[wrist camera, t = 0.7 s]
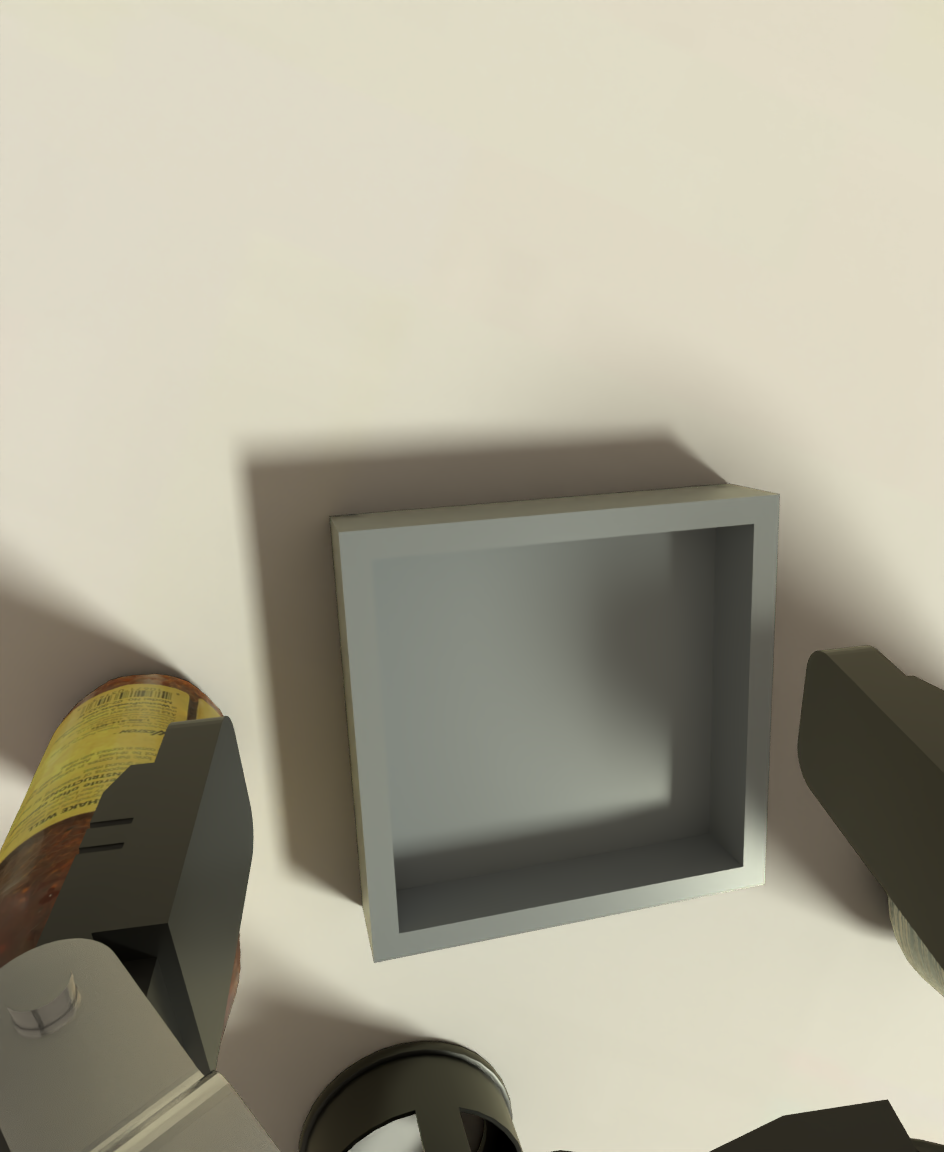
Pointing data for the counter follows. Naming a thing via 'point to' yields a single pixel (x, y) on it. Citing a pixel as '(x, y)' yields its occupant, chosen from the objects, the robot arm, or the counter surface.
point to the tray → (555, 707)
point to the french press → (413, 1100)
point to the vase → (916, 950)
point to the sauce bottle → (84, 795)
